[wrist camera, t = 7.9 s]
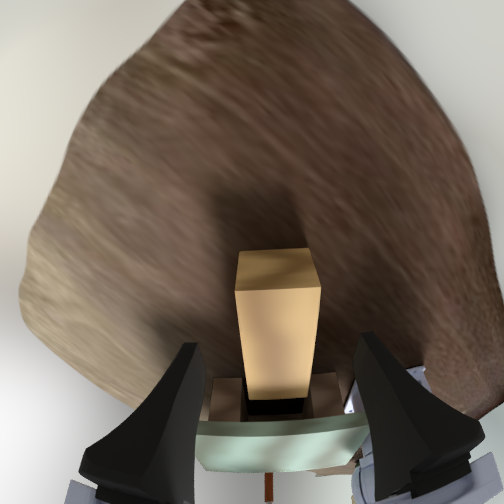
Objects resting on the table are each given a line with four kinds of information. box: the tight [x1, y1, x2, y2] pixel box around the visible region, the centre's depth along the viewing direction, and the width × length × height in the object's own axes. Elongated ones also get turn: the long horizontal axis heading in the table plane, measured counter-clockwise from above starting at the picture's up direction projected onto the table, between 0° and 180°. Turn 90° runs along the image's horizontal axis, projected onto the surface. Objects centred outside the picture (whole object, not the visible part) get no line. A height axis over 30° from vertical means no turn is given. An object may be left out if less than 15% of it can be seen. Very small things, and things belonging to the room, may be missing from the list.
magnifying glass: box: [265, 472, 273, 504], centre depth 28 cm, size 9×2×20 cm, turn 143°
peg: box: [235, 248, 321, 400], centre depth 21 cm, size 5×12×5 cm, turn 4°
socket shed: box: [195, 372, 370, 473], centre depth 26 cm, size 17×12×8 cm
